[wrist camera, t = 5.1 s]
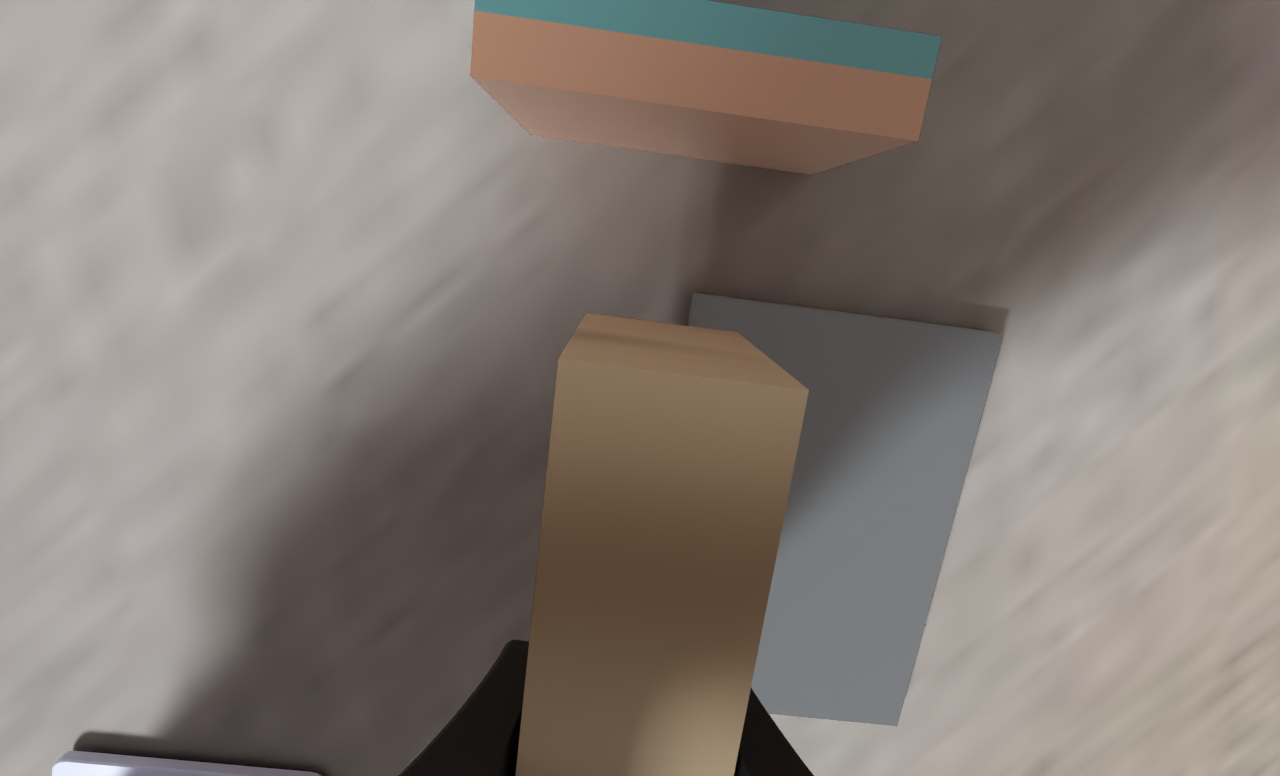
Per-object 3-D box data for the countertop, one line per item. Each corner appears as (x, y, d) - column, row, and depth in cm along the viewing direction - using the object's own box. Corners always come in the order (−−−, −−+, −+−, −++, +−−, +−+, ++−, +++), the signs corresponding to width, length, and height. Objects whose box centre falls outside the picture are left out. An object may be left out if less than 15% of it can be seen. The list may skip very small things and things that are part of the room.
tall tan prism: (667, 757, 15) (687, 1014, 10) (538, 744, 14) (492, 1000, 10) (737, 332, 12) (809, 390, 7) (586, 312, 12) (558, 358, 7)
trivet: (889, 711, 19) (897, 725, 19) (633, 686, 19) (633, 700, 18) (990, 331, 17) (1003, 334, 16) (692, 292, 16) (694, 294, 16)
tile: (810, 174, 16) (918, 141, 10) (530, 135, 15) (470, 75, 9) (822, 110, 15) (942, 36, 9) (536, 68, 15) (476, -36, 9)
